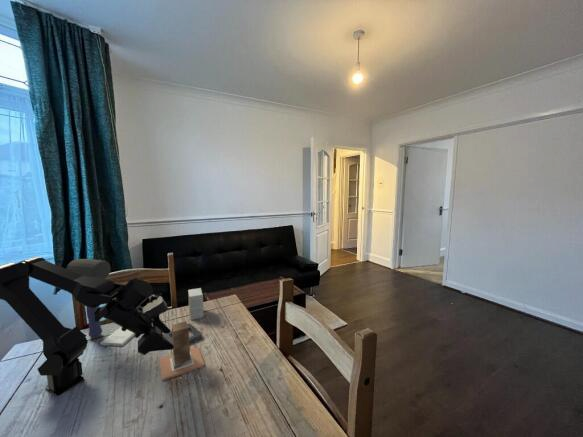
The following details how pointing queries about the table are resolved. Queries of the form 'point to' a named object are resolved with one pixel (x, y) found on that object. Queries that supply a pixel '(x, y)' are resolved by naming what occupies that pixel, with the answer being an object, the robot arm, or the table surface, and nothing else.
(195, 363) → the pad
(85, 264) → the rubber mallet
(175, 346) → the walnut post
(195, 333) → the frame
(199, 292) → the small box
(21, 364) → the table surface
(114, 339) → the external hard drive
